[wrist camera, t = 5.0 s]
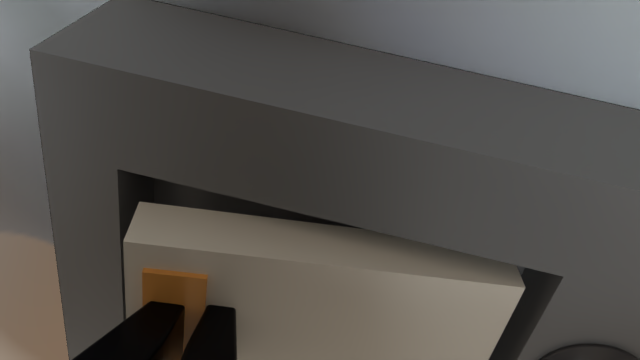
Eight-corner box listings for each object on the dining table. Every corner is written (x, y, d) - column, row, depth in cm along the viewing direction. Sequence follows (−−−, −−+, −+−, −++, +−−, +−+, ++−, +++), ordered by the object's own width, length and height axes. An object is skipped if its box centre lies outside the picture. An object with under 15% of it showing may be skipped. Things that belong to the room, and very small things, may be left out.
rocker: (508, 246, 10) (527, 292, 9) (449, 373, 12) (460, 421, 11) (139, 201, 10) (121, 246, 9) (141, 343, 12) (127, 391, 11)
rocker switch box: (1222, 241, 10) (1489, 391, 8) (890, 480, 15) (986, 624, 12) (120, -7, 11) (25, 51, 9) (130, 288, 16) (69, 384, 13)
